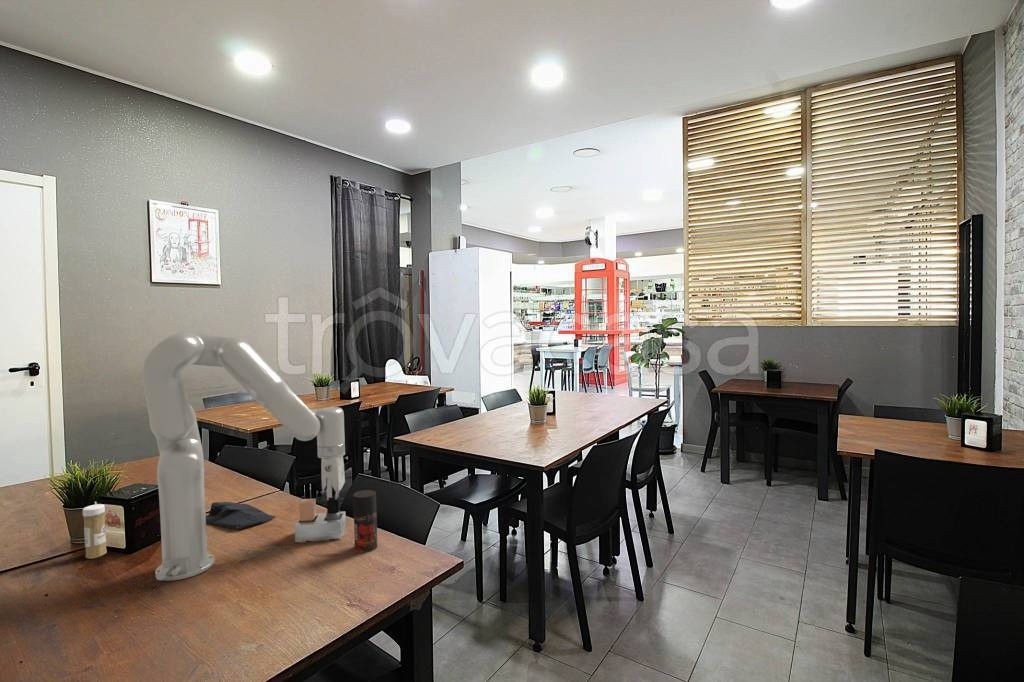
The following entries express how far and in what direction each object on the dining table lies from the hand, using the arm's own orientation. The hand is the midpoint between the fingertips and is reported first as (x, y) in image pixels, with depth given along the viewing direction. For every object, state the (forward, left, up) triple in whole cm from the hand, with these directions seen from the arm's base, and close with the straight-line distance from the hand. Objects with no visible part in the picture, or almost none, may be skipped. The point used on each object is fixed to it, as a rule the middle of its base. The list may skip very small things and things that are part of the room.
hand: (333, 512), depth 145 cm
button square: (0, +7, -1) cm, 7 cm away
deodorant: (-11, -10, -7) cm, 17 cm away
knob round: (0, 0, -5) cm, 5 cm away
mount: (0, +4, -6) cm, 7 cm away
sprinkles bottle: (-1, +62, -7) cm, 62 cm away
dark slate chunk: (+18, +33, -7) cm, 38 cm away
